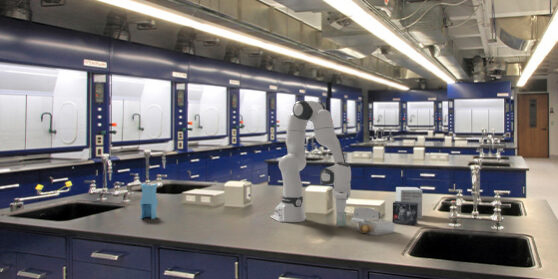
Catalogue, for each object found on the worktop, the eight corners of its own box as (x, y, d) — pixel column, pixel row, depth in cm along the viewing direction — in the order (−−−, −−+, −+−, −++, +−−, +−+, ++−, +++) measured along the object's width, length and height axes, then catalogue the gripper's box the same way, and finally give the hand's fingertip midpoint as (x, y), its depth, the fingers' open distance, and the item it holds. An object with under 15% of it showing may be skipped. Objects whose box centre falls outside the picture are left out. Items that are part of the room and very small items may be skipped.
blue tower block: (157, 216, 276) (157, 183, 275) (152, 219, 268) (152, 185, 267) (145, 216, 276) (145, 183, 276) (140, 218, 269) (139, 185, 268)
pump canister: (334, 224, 244) (334, 209, 243) (341, 223, 246) (342, 208, 246) (340, 226, 239) (341, 211, 239) (347, 225, 242) (348, 210, 242)
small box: (392, 223, 261) (392, 202, 261) (394, 221, 267) (395, 200, 267) (415, 225, 255) (415, 204, 254) (417, 223, 261) (418, 202, 260)
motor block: (354, 231, 239) (354, 220, 239) (377, 227, 249) (377, 217, 249) (370, 236, 229) (370, 224, 229) (394, 232, 239) (394, 220, 239)
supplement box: (422, 219, 274) (422, 190, 273) (400, 218, 274) (400, 189, 273) (416, 214, 287) (416, 187, 286) (395, 214, 287) (395, 186, 286)
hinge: (350, 222, 263) (352, 205, 265) (353, 223, 267) (356, 206, 269) (377, 226, 253) (379, 208, 256) (380, 227, 257) (382, 210, 260)
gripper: (337, 189, 253) (337, 214, 253) (334, 195, 233) (333, 222, 234) (349, 190, 252) (348, 215, 252) (346, 196, 232) (345, 223, 232)
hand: (341, 218), depth 243 cm, fingers closed on pump canister, 5 cm apart
